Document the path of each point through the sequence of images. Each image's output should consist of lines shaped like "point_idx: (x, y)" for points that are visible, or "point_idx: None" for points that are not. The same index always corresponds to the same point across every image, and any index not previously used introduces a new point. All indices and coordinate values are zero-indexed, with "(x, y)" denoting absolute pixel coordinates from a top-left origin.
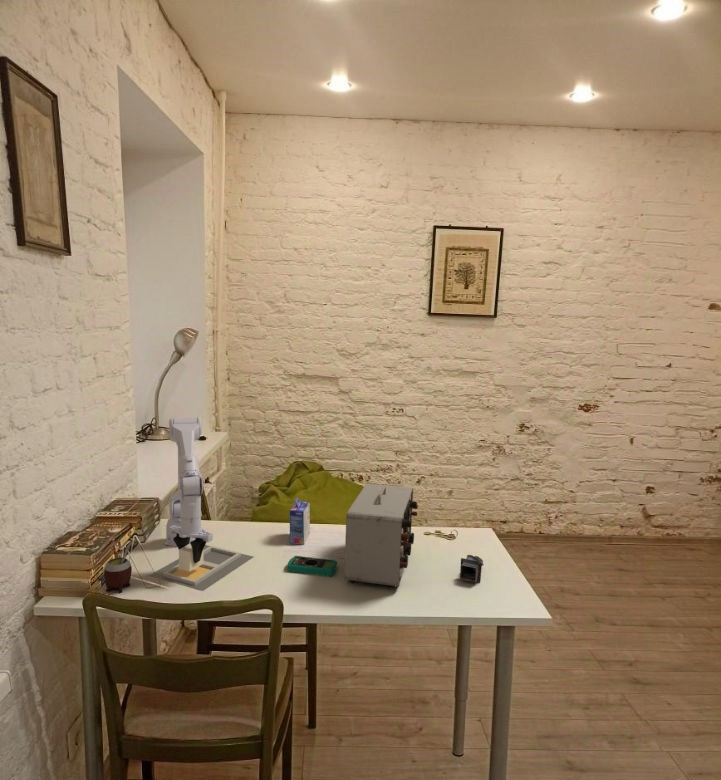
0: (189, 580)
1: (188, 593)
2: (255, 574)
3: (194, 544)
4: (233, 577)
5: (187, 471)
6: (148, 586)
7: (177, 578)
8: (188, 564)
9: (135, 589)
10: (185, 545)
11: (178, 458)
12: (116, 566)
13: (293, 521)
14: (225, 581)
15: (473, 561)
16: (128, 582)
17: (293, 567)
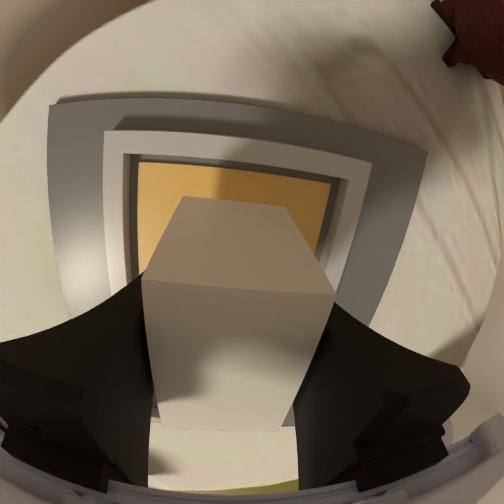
0: (147, 131)
1: (112, 60)
2: (17, 324)
3: (5, 360)
4: (44, 286)
5: None
6: (372, 57)
7: (250, 138)
8: (187, 215)
9: (405, 27)
10: (308, 383)
11: None
12: None
13: (90, 499)
14: (41, 245)
15: None
16: (457, 56)
17: None
